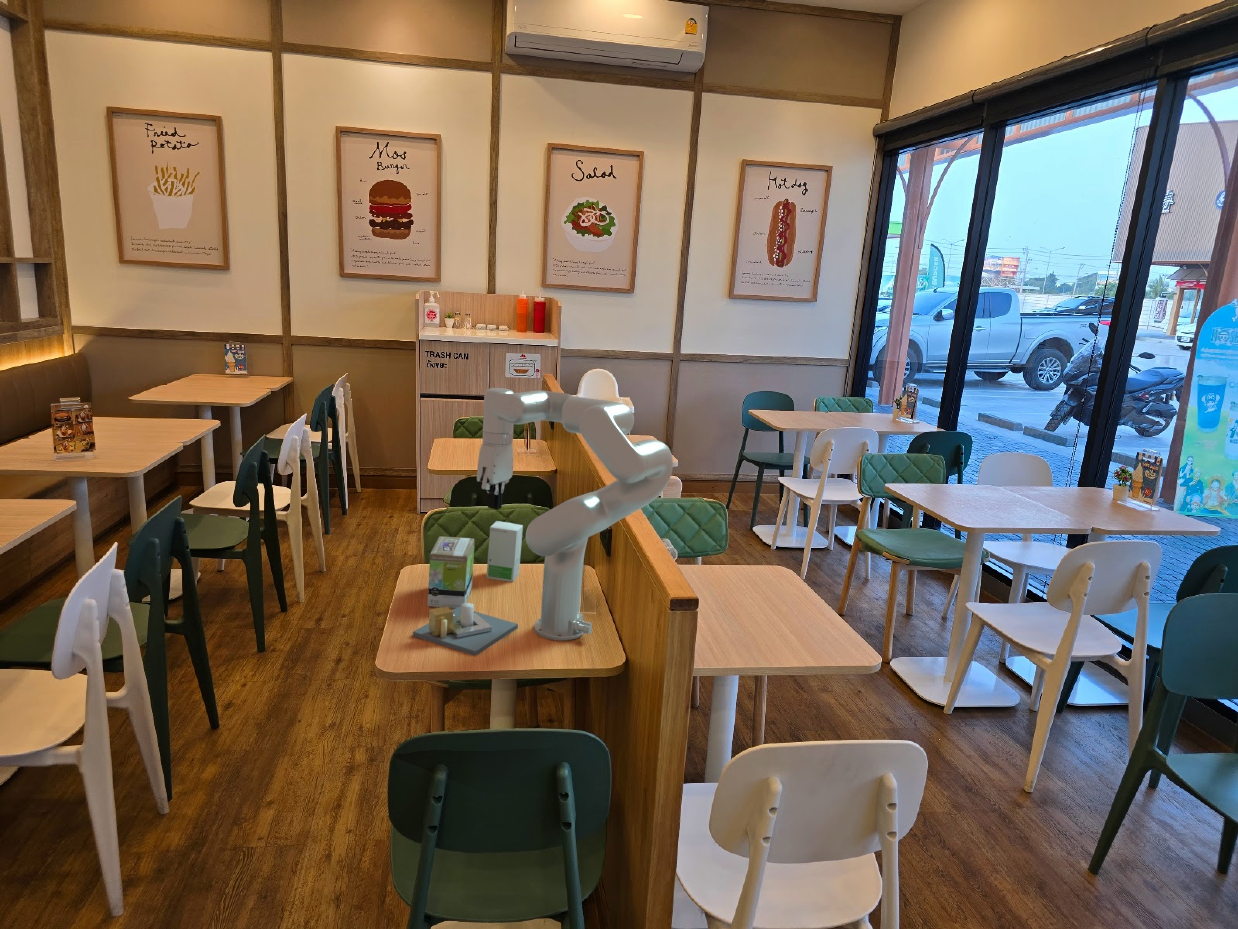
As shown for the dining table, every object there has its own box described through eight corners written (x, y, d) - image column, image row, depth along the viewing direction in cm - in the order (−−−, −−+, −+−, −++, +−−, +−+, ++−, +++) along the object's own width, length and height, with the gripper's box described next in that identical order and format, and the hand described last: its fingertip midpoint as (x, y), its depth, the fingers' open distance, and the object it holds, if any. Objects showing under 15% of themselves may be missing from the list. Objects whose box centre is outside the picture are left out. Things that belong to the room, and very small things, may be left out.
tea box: (465, 609, 212) (467, 555, 209) (426, 607, 211) (427, 553, 208) (472, 587, 227) (475, 536, 223) (436, 585, 226) (437, 534, 223)
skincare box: (485, 578, 234) (488, 526, 230) (493, 570, 240) (495, 520, 236) (514, 582, 232) (516, 530, 229) (520, 574, 239) (523, 523, 235)
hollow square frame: (475, 616, 205) (476, 596, 204) (491, 630, 198) (492, 609, 197) (424, 626, 197) (424, 605, 196) (439, 641, 190) (440, 619, 189)
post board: (517, 628, 203) (519, 602, 202) (475, 656, 187) (476, 627, 186) (458, 611, 211) (459, 585, 209) (412, 636, 195) (413, 608, 193)
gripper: (501, 431, 213) (498, 499, 217) (467, 440, 199) (465, 512, 203) (526, 435, 210) (522, 504, 214) (493, 444, 196) (490, 517, 200)
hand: (494, 508), depth 209 cm, fingers closed
